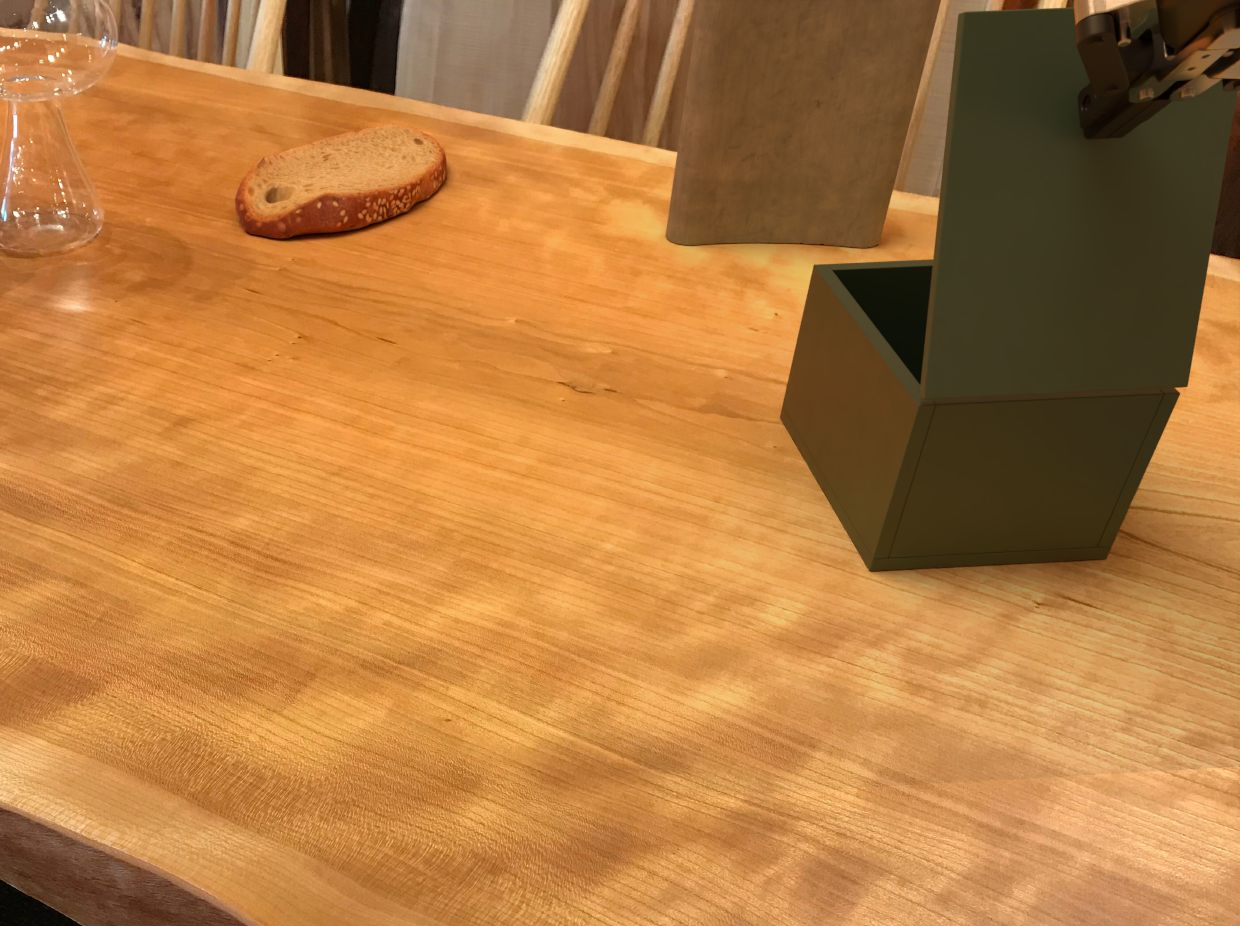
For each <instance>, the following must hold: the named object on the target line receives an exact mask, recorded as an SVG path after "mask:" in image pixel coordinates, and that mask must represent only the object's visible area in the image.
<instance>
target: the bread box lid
mask: <svg viewBox="0 0 1240 926" xmlns="http://www.w3.org/2000/svg"><path fill="white" fill-rule="evenodd" d="M1148 13H1149V11H1147V12H1146V13H1144V14H1143V15H1142V17H1141V21H1140V22H1139V23H1138V24H1137V25H1136V26H1135V27H1133V28H1131V29H1130V31H1131V33H1132V32H1133V31H1134V30H1135V29H1136V28H1137V27H1138V26H1139V25H1140V24H1141V23H1142V22H1143V21H1144V20H1145V19H1146V18H1147V16H1148ZM951 72H952V73H951V81H950V82H951V83H950V93H949V101H948V111H947V112H948V113H947V120H946V121H947V122H946V129H945V130H946V131H945V133H946V134H945V141H944V149H943V150H944V151H943V160H942V169H941V170H942V172H941V180H940V188H939V189H940V191H939V199H938V208H937V209H938V210H937V221H936V228H935V239H934V247H933V248H934V249H933V258H932V259H933V267H932V277H931V287H930V297H929V306H928V316H927V326H926V336H925V346H924V355H923V365H922V375H921V385H920V395H919V398H921V399H924V400H929V399H950V398H971V397H992V396H1013V395H1034V394H1055V393H1076V392H1097V391H1118V390H1140V389H1161V388H1175V389H1178V388H1179V389H1181V388H1187V387H1188V386H1189V381H1190V376H1191V371H1192V363H1193V358H1194V351H1195V345H1196V339H1197V334H1198V328H1199V321H1200V315H1201V310H1202V305H1203V304H1202V303H1203V299H1204V293H1205V286H1206V281H1207V275H1208V268H1209V263H1210V258H1211V252H1212V251H1211V250H1212V245H1213V239H1214V233H1215V227H1216V222H1217V216H1218V209H1219V204H1220V197H1221V192H1222V186H1223V181H1224V180H1223V179H1224V173H1225V168H1226V162H1227V156H1228V150H1229V144H1230V139H1231V132H1232V128H1233V127H1232V126H1233V120H1234V114H1235V109H1236V104H1237V103H1236V102H1237V97H1238V92H1239V91H1232V92H1227V91H1224V90H1223V85H1222V81H1219V82H1217V83H1216V84H1214V85H1213V86H1211V87H1210V88H1209V89H1207V90H1206V91H1204V92H1203V93H1201V94H1199V95H1198V96H1196V97H1193V98H1191V99H1188V100H1183V101H1172V102H1171V103H1170V104H1168V105H1167V106H1166V107H1164V108H1163V109H1161V110H1160V111H1159V112H1158V113H1155V115H1154V116H1153V117H1151V118H1150V119H1149V120H1147V121H1145V122H1143V123H1141V124H1140V125H1138V126H1137V127H1136V128H1134V129H1133V130H1132V131H1131V132H1129V133H1128V134H1127V135H1125V136H1124V137H1122V138H1108V139H1086V138H1085V137H1084V133H1083V129H1080V119H1079V108H1078V98H1077V97H1078V95H1079V92H1080V91H1081V90H1082V89H1083V88H1084V87H1086V86H1087V85H1088V84H1089V83H1090V80H1089V78H1088V75H1087V72H1086V70H1085V67H1084V64H1083V62H1082V59H1081V57H1080V54H1079V51H1078V49H1077V42H1076V32H1075V21H1074V10H1073V6H1072V7H1047V8H1046V7H1045V8H1023V9H1022V8H1021V9H998V10H997V9H996V10H973V11H972V10H971V11H970V10H969V11H963V12H962V11H961V12H960V13H958V16H957V23H956V32H955V43H954V54H953V63H952V71H951Z"/></svg>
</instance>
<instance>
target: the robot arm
mask: <svg viewBox="0 0 1240 926" xmlns="http://www.w3.org/2000/svg"><path fill="white" fill-rule="evenodd" d="M1072 7H1073V10H1074V21H1075V32H1076V42H1077V49H1078V51H1079V54H1080V57H1081V59H1082V62H1083V64H1084V67H1085V70H1086V72H1087V75H1088V78H1089V80H1090V83H1089V84H1088V85H1087V86H1086V87H1084V88H1083V89H1082V90H1081V91H1080V92H1079V95H1078V97H1077V98H1078V108H1079V119H1080V129H1083V133H1084V137H1085V138H1086V139H1108V138H1122V137H1124V136H1125V135H1127V134H1128V133H1129V132H1131V131H1132V130H1133V129H1134V128H1136V127H1137V126H1138V125H1140V124H1141V123H1143V122H1145V121H1147V120H1149V119H1150V118H1151V117H1153V116H1154V115H1155V113H1158V112H1159V111H1160V110H1161V109H1163V108H1164V107H1166V106H1167V105H1168V104H1170V103H1171V102H1172V101H1183V100H1188V99H1191V98H1193V97H1196V96H1198V95H1199V94H1201V93H1203V92H1204V91H1206V90H1207V89H1209V88H1210V87H1211V86H1213V85H1214V84H1216V83H1217V82H1219V81H1222V85H1223V90H1224V91H1227V92H1232V91H1238V92H1239V91H1240V0H1072ZM1147 11H1149V13H1148V16H1147V18H1146V19H1145V20H1144V21H1143V22H1142V23H1141V24H1140V25H1139V26H1138V27H1137V28H1136V29H1135V30H1134V31H1133V32H1132V33H1131V31H1130V29H1131V28H1133V27H1135V26H1136V25H1137V24H1138V23H1139V22H1140V21H1141V17H1142V15H1143V14H1144V13H1146V12H1147Z"/></svg>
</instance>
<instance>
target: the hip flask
mask: <svg viewBox="0 0 1240 926" xmlns="http://www.w3.org/2000/svg"><path fill="white" fill-rule="evenodd" d="M941 2H942V0H698V3H697V10H696V17H695V23H694V24H695V25H694V33H693V37H692V45H691V52H690V53H691V54H690V60H689V66H688V73H687V79H686V86H685V87H686V88H685V94H684V95H685V96H684V101H683V110H682V114H681V115H682V116H681V124H680V130H679V138H678V145H677V152H676V158H675V164H674V165H675V166H674V172H673V178H672V179H673V180H672V186H671V194H670V203H669V207H668V208H669V209H668V213H667V215H668V216H667V223H666V230H665V238H666V239H667V240H668V241H670V243H671V242H672V243H675V244H677V245H682V246H699V245H700V246H701V245H714V244H716V245H717V244H748V243H749V244H751V243H752V244H758V243H760V244H762V243H763V244H800V243H803V245H820V244H824V245H823V246H835V247H836V246H837V247H846V248H858V249H867V248H868V247H869V248H874V247H876V246H877V244H878V245H879V244H880V243H881V238H882V235H883V230H884V226H885V223H886V219H887V215H888V211H889V208H890V204H891V199H892V195H893V192H894V187H895V183H896V179H897V176H898V171H899V168H900V164H901V161H902V160H901V159H902V156H903V152H904V148H905V144H906V140H907V137H908V132H909V128H910V124H911V120H912V116H913V112H914V110H915V109H914V108H915V104H916V101H917V98H918V97H917V96H918V92H919V89H920V84H921V81H922V77H923V73H924V70H925V66H926V61H927V57H928V53H929V49H930V45H931V42H932V38H933V34H934V29H935V25H936V21H937V19H938V14H939V10H940V6H941Z"/></svg>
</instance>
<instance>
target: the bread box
mask: <svg viewBox="0 0 1240 926" xmlns="http://www.w3.org/2000/svg"><path fill="white" fill-rule="evenodd" d="M932 267H933V258H932V259H931V258H930V259H929V258H928V259H912V260H911V259H909V260H889V261H888V260H887V261H865V262H844V263H843V262H842V263H840V262H839V263H822V264H821V263H820V264H813V266H812V271H811V275H810V280H809V284H808V289H807V294H806V297H805V302H804V307H803V311H802V315H801V321H800V324H799V329H798V332H797V333H798V334H797V338H796V342H795V347H794V352H793V357H792V361H791V366H790V370H789V373H788V379H787V383H786V388H785V392H784V397H783V401H782V406H781V411H780V415H779V418H780V420H781V422H782V424H783V425H784V428H785V429H786V430H787V432H788V434H789V435H790V437H791V438H792V440H793V442H794V443H795V445H796V448H797V449H798V450H799V453H800V454H801V456H802V457H803V459H804V461H805V463H806V465H807V466H808V468H809V469H810V471H811V473H812V475H813V476H814V479H815V480H816V481H817V483H818V485H819V487H820V488H821V490H822V493H823V494H824V495H825V498H826V499H827V500H828V502H829V505H830V506H831V507H832V509H833V511H834V513H835V514H836V516H837V518H838V519H839V521H840V522H841V524H842V526H843V528H844V529H845V532H846V533H847V535H848V536H849V538H850V540H851V541H852V543H853V545H854V547H855V549H856V550H857V552H858V554H859V555H860V557H861V559H862V560H863V562H864V564H865V566H866V567H867V569H868V571H869V572H876V571H878V572H879V571H896V570H898V571H899V570H917V569H918V570H919V569H936V568H939V569H940V568H955V567H957V568H958V567H972V566H973V567H975V566H993V565H994V566H996V565H1014V564H1015V565H1016V564H1035V563H1036V564H1037V563H1054V562H1055V563H1056V562H1070V561H1073V562H1074V561H1075V562H1076V561H1091V560H1092V561H1095V560H1106V559H1108V556H1109V555H1110V552H1111V551H1112V550H1111V549H1112V547H1113V545H1114V543H1115V541H1116V539H1117V537H1118V534H1119V532H1120V531H1121V528H1122V525H1123V523H1124V521H1125V519H1126V517H1127V514H1128V512H1129V509H1130V507H1131V505H1132V503H1133V501H1134V498H1135V496H1136V494H1137V492H1138V490H1139V487H1140V485H1141V482H1142V480H1143V479H1144V476H1145V474H1146V471H1147V469H1148V467H1149V465H1150V463H1151V460H1152V458H1153V456H1154V454H1155V452H1156V449H1157V447H1158V445H1159V443H1160V441H1161V438H1162V436H1163V433H1164V432H1165V429H1166V426H1167V425H1168V422H1169V420H1170V418H1171V415H1172V414H1173V411H1174V410H1175V407H1176V405H1177V402H1178V400H1179V398H1180V396H1181V392H1180V391H1179V389H1177V388H1161V389H1140V390H1118V391H1097V392H1076V393H1055V394H1034V395H1013V396H992V397H971V398H950V399H929V400H924V399H921V398H919V395H920V385H921V375H922V365H923V355H924V346H925V336H926V326H927V316H928V306H929V297H930V287H931V277H932Z"/></svg>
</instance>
